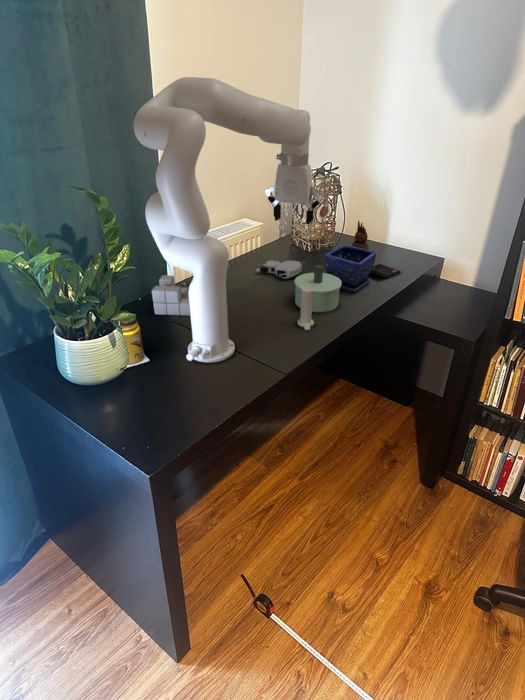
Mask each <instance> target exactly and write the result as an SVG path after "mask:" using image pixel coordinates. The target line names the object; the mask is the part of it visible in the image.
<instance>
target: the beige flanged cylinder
mask: <svg viewBox="0 0 525 700" xmlns="http://www.w3.org/2000/svg"><path fill="white" fill-rule="evenodd" d="M312 296H313V289H312V288H310V287H303V288H302V289H301V308H300V317H299V319H297V321H296V322H297V323H296V324H297V325H298V326H299V327H302V328H304V331H311V327H313V326H314V325H315V321H314V319H312V315H313V313H312Z"/></svg>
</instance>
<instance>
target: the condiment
mask: <svg viewBox="0 0 525 700" xmlns="http://www.w3.org/2000/svg"><path fill="white" fill-rule="evenodd" d="M134 316H135V317H134V318H133V319H130V320H125V321H120V326H121V328H122V332H123V335H124V338H125V341H126V345H127V348H128V352H129V362H128V365H127V367H126V368H125V369H127V368H130V367H134V366H138V365H141V364H144V363H147V362H150V359H149V358H148V357H147V356H146V354H145V353H144V345H143V339H142V333H141V332H142V331H141V326H140V325H139V322H138V317H137V316H136V315H134Z"/></svg>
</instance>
